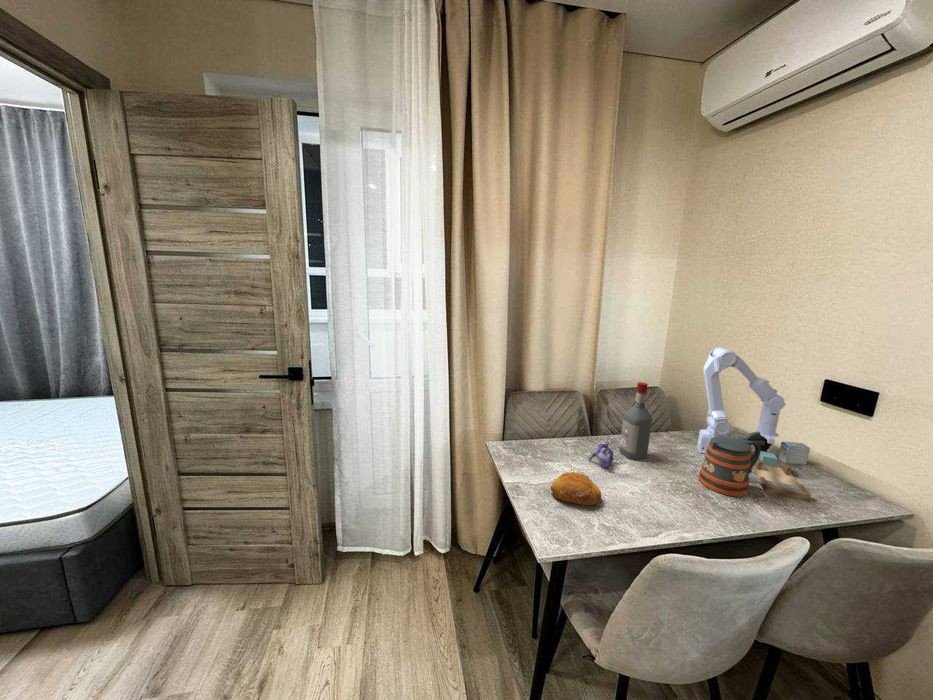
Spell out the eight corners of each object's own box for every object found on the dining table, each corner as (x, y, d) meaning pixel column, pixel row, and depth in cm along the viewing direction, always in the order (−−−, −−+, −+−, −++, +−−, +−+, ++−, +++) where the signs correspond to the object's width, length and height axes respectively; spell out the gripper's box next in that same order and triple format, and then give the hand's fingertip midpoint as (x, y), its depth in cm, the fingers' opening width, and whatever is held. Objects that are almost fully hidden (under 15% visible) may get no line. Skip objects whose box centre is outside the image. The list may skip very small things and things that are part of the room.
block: (761, 464, 149) (763, 456, 148) (757, 458, 153) (759, 450, 152) (775, 467, 147) (777, 458, 146) (771, 461, 151) (773, 453, 151)
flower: (583, 449, 145) (609, 440, 142) (584, 449, 152) (609, 441, 150) (593, 473, 141) (620, 465, 139) (593, 472, 149) (619, 464, 147)
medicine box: (797, 462, 155) (802, 442, 153) (806, 468, 150) (810, 447, 148) (776, 461, 155) (781, 441, 154) (784, 466, 151) (789, 446, 149)
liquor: (630, 461, 150) (640, 387, 144) (616, 450, 159) (625, 380, 153) (650, 459, 153) (660, 386, 146) (635, 448, 161) (644, 380, 155)
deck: (765, 492, 132) (767, 480, 131) (745, 459, 155) (747, 449, 154) (809, 501, 127) (812, 489, 126) (782, 466, 151) (784, 456, 150)
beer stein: (732, 472, 145) (741, 422, 141) (769, 494, 131) (781, 439, 127) (688, 475, 141) (697, 424, 137) (722, 498, 127) (733, 442, 123)
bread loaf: (597, 518, 118) (603, 496, 116) (546, 500, 123) (552, 478, 120) (599, 493, 131) (605, 473, 129) (553, 477, 136) (558, 457, 134)
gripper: (787, 430, 145) (779, 463, 148) (774, 417, 159) (768, 448, 161) (764, 426, 148) (757, 459, 151) (754, 414, 161) (747, 444, 164)
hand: (761, 453), depth 156 cm, fingers closed
